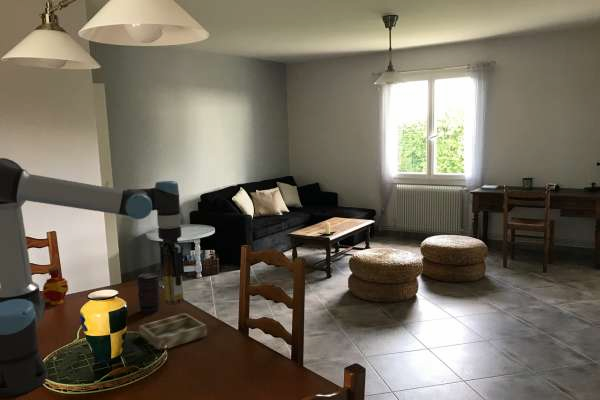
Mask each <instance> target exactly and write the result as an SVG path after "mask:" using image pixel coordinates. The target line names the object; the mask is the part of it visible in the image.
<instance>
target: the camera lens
mask: <svg viewBox="0 0 600 400" xmlns="http://www.w3.org/2000/svg"><path fill="white" fill-rule="evenodd" d="M159 280H160V279H159V275H158V274H157V273H153V272H146V273H141V274H139V275H138V276H137V288H138V289H137V290H138V293H137V296H138V303H139V304H138V305H139V309H140V310H141V313H142V314H144V315H145V314H147V315H149V314H154V313H156V312H158V311H159V307H160V294H159V293H160V291H159V290H160V289H159V287H160V283H159Z"/></svg>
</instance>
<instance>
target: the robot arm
mask: <svg viewBox="0 0 600 400" xmlns="http://www.w3.org/2000/svg"><path fill="white" fill-rule="evenodd" d="M26 201H27V202H31V203H32V202H33V203H40V204H47V205H54V206H61V207H67V208H74V209H81V210H88V211H95V212H101V213H107V214H108V213H109V214H114V215H115V214H116V215H121V216H127V217H130V218H132V219H136V220H142V219H145V218H147V217H148V216H150V214H151V213H152V211H153V212H154V211H156V218H157V220H156V221H157V222H156V223H157V226H158V229H157V230H158V231H157V232H158V239H159V240H161V241H158V246H159V259H160V260H159V262H160V264H159V265H160V269H161V270H162V267H163V264H164V262H165V254H164V248H165V247H166V248H167V250H168V255H169V257H170V258H171V263H172V268H173V273H174V275H173V276H172V277H173V292H174V295H178V294H182V286H183V284H182V285H181V275H182V276H183V275H185V268H184V267H185V266H184V256H183V253H184V252H183V250H184V248H183V245H179V241H178V239H180V238H181V237H182V227H181V226H180V225H181V218H182V215H181V207H180V205H181V204H180V191H179V184H178V182H177V181H175V180H163V181H156V182H155V185H154V187H151V188H134V189H133V188H131V189H130V188H127V189H120V188H119V189H118V188H113V187H107V186H101V185H97V184H90V183H83V182H77V181H74V180H73V181H72V180H68V179H67V180H65V179H60V178H54V177H50V176H44V175H37V174H32V173H29V172H28V170H27V169H24V168H22V167H21V165H20V164H18V163H17V162H15V161H14V160H12V159H9V158H5V157H0V398H11V397H16V396H20V395H23V394H25V393H28V392H30V391H33V390H35V389H37V388H39V387H41V386H42V385H44V383H45V382H46V381H45V379H47V380H48V377H49V374H48V368H47V366H46V364H45V362H44V360H43V359H42V357H41V354H40V353H39V344H38V335H37V333H38V331H37V330H38V329H37V328H38V327H39V324H40V322H41V320H42V319H43V316H44V313H45V301H44V298H43V296H41V291H40V286H39V284H38V283H36V282H34V281H33V275H32V269H31V263H30V257H29V249H28V244H27V243H28V242H27V236H26V230H25V223H24V217H23V211H22V210H23V209H22V206H23V205H24V203H26ZM44 381H45V382H44Z"/></svg>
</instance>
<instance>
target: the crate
mask: <svg viewBox="0 0 600 400" xmlns="http://www.w3.org/2000/svg"><path fill="white" fill-rule="evenodd" d="M138 329H139V331H138V332H139V335H140V334H141V335H142V336H143V337H144V338H145V339H147V340H148V341H149V342H150V343H151V344H153V345H154V346H155V347H156V348H158V349H160V348H163V347H164V346H165V345H167V347H168V349H171V348H174V347H177V346H179V345H182V344H186V343H190V342H192V341H195V340H198V339H202V338H204V337H207V336H208V328H207V324H206V323H204V322H202V321H200V320H198V319H197V318H195V317H194V316H192V315H190V314H188V313H186V312H184V313H179V314H175V315H173V316H169V317H165V318H163V319H159V320H156V321H152V322H147V323H144V324H142V325H141V324H140V325H138ZM157 336H158V337H157ZM159 337H160V338H159Z"/></svg>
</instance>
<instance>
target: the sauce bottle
mask: <svg viewBox="0 0 600 400" xmlns="http://www.w3.org/2000/svg"><path fill="white" fill-rule="evenodd" d="M164 254H165V262H164V264H163V267H162V269H161V270H162V281H163V291H164V300H165V303H166V304H167V305H172V306H173V305H174V306H175V305H179V304H182V303H183V302H184V286H183V279H182V278H183V277H182V276H183V275H181V285H182V294H178V295H174V292H173V277H172V276H173V275H174V273H173V268H172V263H171V258H170V257H169V255H168V250H167V248H166V247H165V248H164Z"/></svg>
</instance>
